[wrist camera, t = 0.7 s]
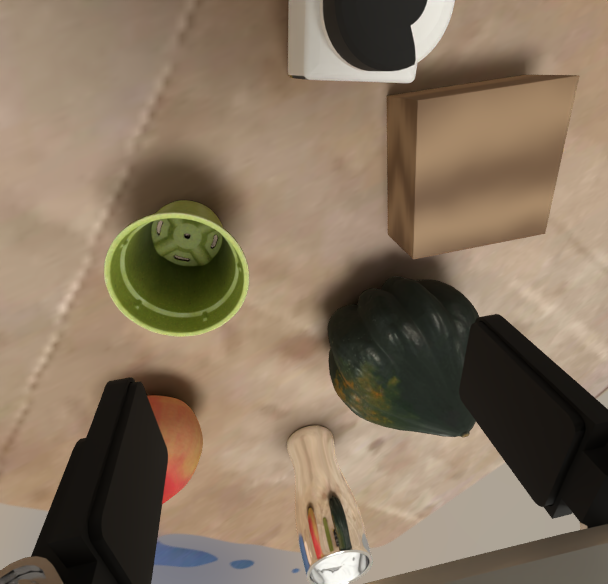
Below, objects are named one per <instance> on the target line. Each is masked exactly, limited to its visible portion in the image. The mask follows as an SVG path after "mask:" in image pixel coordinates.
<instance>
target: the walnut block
mask: <svg viewBox="0 0 608 584" xmlns="http://www.w3.org/2000/svg"><path fill="white" fill-rule="evenodd" d="M578 79H579V76H577V75H520V76H513V77H507V78H500V79H494V80H487V81H480V82H474V83H467V84H461V85H454V86H448V87H441V88H435V89H428V90H421V91H415V92H408V93H402V94H395V95H389V96H387V177H388V235H389V236H390V237H391V238H392V239H393V240H394V241H395V242H396V243H397V244H398V245H399V246H400V247H401V248H402V249H403V250H404V251H405V252H406V253H407V254H408V255H409V256H410V257H411V258H412V259H418V258H423V257H428V256H433V255H438V254H444V253H449V252H454V251H459V250H464V249H469V248H474V247H479V246H484V245H489V244H494V243H500V242H505V241H510V240H515V239H520V238H525V237H530V236H535V235H540V234H545V231H546V227H547V222H548V217H549V213H550V208H551V204H552V199H553V194H554V190H555V185H556V181H557V176H558V171H559V167H560V162H561V158H562V153H563V148H564V144H565V139H566V135H567V130H568V125H569V121H570V116H571V112H572V107H573V102H574V98H575V93H576V89H577V84H578Z"/></svg>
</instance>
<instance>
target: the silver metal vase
mask: <svg viewBox="0 0 608 584" xmlns="http://www.w3.org/2000/svg"><path fill="white" fill-rule="evenodd" d="M287 451H288V454H289V456H290V459H291V461H292V464H293V467H294V473H295V521H296V529H297V536H298V541H299V546H300V551H301V555H302V559H303V563H304V567H305V571H306V577H307V581H308V582H309V583H310V584H349V583H351V582H354V581H356V580H357V579H359V578H361V577H362V576H363V575H365V574H366V573H367V572H368V571H369V570H370V568H371V566H372V563H373V559H372V556H371V552H370V548H369V544H368V539H367V535H366V531H365V527H364V523H363V520H362V516H361V513H360V510H359V507H358V505H357V502H356V500H355V498H354V495H353V493H352V491H351V489H350V487H349V485H348V483H347V481H346V479H345V477H344V475H343V473H342V471H341V469H340V467H339V465H338V462H337V460H336V456H335V449H334V438H333V435H332V433H331V431H330V430H328V429H327V428H325V427H323V426H317V425H312V426H306V427H303V428H301V429H299V430H297V431H296V432H294V433H293V434H292V435H291V436H290V437H289V439H288V441H287Z"/></svg>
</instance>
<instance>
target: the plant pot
mask: <svg viewBox="0 0 608 584" xmlns="http://www.w3.org/2000/svg"><path fill="white" fill-rule="evenodd" d="M160 220H161V221H163V224H162V227H161V232H160V235H158V234H157V224H158V222H159V221H160ZM184 234H189V235H190V238H189V239H187V238H185V237H184ZM214 235H217V237H218V241H217V244H216V246H215V247H214V248H213V249H212V248H211V245H212V243H213V239H214ZM175 255H177V256H180V257H184V258H189V259H190V260H189V261H180V260H177V259H175V258H174V256H175ZM104 277H105V283H106V286H107V289H108V292H109V294H110V297H111V298H112V300H113V302H114V303H115V305H116V306H117V307H118V309H119V310H120V311H121V312H122V313H123V314H124V315H125V316H126V317H128V318H129V319H130V320H132V321H133V322H135V323H136V324H138V325H140V326H141V327H143V328H145V329H147V330H149V331H152V332H155V333H159V334H163V335H169V336H178V337H179V336H194V335H200V334H203V333H206V332H209V331H212V330H214V329H216V328H218V327H220V326H222V325H223V324H225V323H226V322H227V321H229V320H230V319H231V318H232V317H233V316H234V315H235V314H236V313H237V312H238V310H239V309H240V307H241V306H242V304H243V302H244V300H245V297H246V295H247V291H248V286H249V270H248V265H247V261H246V258H245V255H244V253H243V251H242V249H241V247H240V246H239V244H238V243H237V241H236V240H235V239H234V238H233V237H232V235H231V234H230V233H229V232H227V231H226V230H225V229H224V228H223V226H222V224H221V222H220V220H219V219H218V217H217V216H216V215H215V213H214V212H213V211H212V210H210V209H209V208H208V207H206V206H205V205H203V204H200V203H198V202H194V201H188V200H180V201H175V202H172V203H170V204H167V205H165V206H164V207H162V208H161V209H160V210H159V211H157V212H156V213H155V214H152V215H149V216H146V217H143V218H141V219H139V220H136V221H135V222H133V223H131V224H130V225H128V226H127V227H126V228H125V229H123V230H122V231H121V232H120V233H119V234H118V236H117V237H116V238H115V239H114V241H113V242H112V244H111V246H110V248H109V250H108V252H107V255H106V259H105V264H104Z"/></svg>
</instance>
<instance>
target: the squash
mask: <svg viewBox="0 0 608 584" xmlns="http://www.w3.org/2000/svg"><path fill="white" fill-rule="evenodd" d="M477 318H479V315H478V313H477V311H476V309H475V308H474V306H473V305H472V303H471V302H470V301H469V300H468V299H467V298H466V297H465V296H464V295H463V294H462V293H460V292H459V291H458V290H456V289H455V288H454V287H452V286H450V285H448V284H445V283H443V282H440V281H436V280H417V281H414V280H412V279H405V278H403V277H391V278H389V279H388V280H387V281H385V283H384V284H383V286H382V289H373V288H371V289H368V290H366V291H364V292H363V293H362V294H361V295H360V297H359V301H358V305H348V306H344V307H342V308H340V309H338V310H337V311H336V312H335V313H334V314H333V315H332V316H331V318H330V321H329V323H328V337H329V342H330V346H331V348H330V352H329V370H330V376H331V380H332V383H333V386H334V389H335V391H336V392H337V394H338V396H339V397H340V398H341V399H342V401H343V402H344V403H345V404H346V405H347V406H348V407H349V408H350V409H351V411H353V412H354V413H355V414H356V415H358V416H359V417H361V418H363V419H365V420H367V421H369V422H372V423H375V424H378V425H381V426H384V427H388V428H393V429H397V430H405V431H414V432H421V433H427V434H433V435H439V436H448V437H457V436H461V437H466V436H468V435H469V431H470V430H471V429H472V428H473V426H474V424H475V422H476V420H475V419H474V418H473V416H472V415H471V413H470V412H469V411H468V409H467V408H466V407H465V405H464V404H463V402H462V401H461V398H460V395H459V387H460V382H461V376H462V371H463V365H464V360H465V354H466V348H467V343H468V337H469V332H470V327H471V325H472V324H473V323H475V320H476V319H477Z"/></svg>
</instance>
